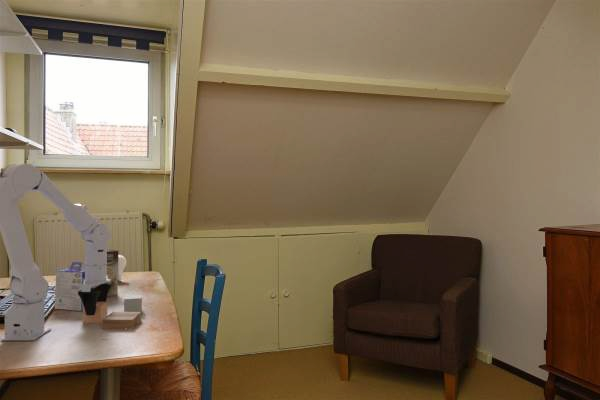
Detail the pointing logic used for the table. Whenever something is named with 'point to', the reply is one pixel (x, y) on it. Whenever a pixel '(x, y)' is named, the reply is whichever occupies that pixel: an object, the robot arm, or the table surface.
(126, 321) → the walnut block
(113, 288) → the coffee box
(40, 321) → the robot arm
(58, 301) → the ink cartridge box
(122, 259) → the lightbulb
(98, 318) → the terracotta cube
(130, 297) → the grey cube
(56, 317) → the table surface
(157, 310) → the table surface
